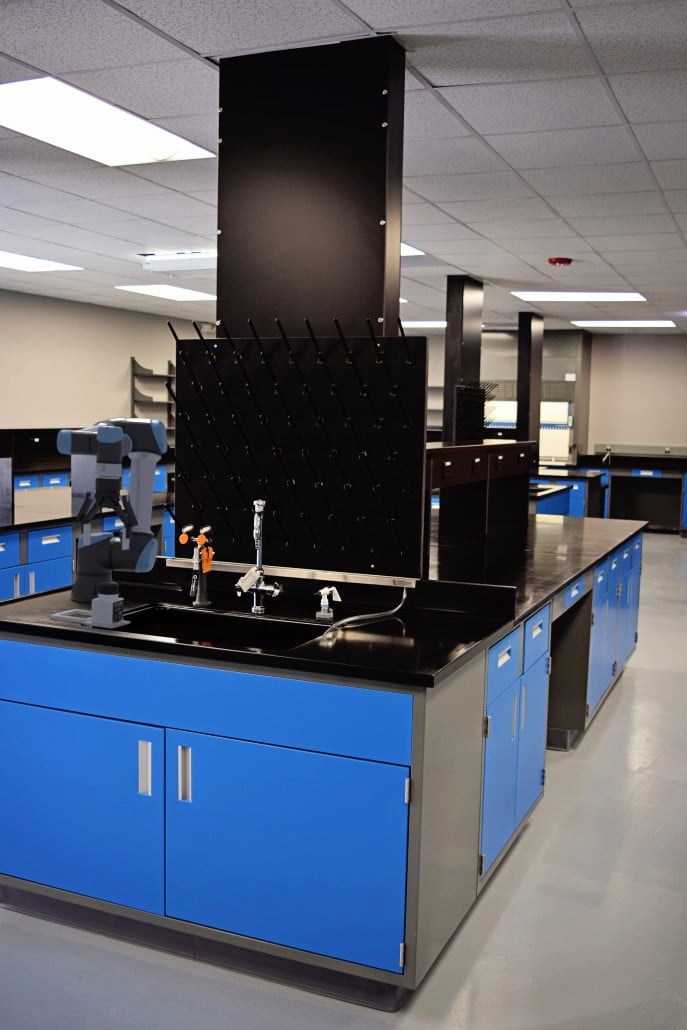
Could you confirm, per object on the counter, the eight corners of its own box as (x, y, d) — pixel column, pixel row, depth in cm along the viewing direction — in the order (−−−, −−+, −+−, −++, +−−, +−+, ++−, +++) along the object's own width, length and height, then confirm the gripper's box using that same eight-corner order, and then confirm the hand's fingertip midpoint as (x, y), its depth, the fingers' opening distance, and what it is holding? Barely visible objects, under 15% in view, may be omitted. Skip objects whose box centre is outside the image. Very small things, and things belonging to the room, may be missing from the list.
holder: (75, 612, 300) (75, 609, 300) (110, 617, 296) (110, 613, 296) (49, 618, 288) (49, 614, 288) (86, 623, 284) (86, 619, 283)
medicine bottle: (112, 625, 281) (114, 585, 280) (90, 622, 282) (92, 583, 282) (123, 621, 288) (125, 582, 287) (101, 618, 289) (103, 580, 289)
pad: (102, 619, 292) (102, 617, 292) (130, 623, 288) (130, 621, 288) (83, 624, 282) (83, 622, 282) (111, 628, 279) (111, 626, 279)
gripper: (65, 474, 285) (63, 544, 287) (138, 480, 277) (135, 552, 279) (80, 474, 292) (77, 542, 294) (151, 480, 284) (148, 549, 286)
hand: (105, 547), depth 286 cm, fingers open, 13 cm apart
